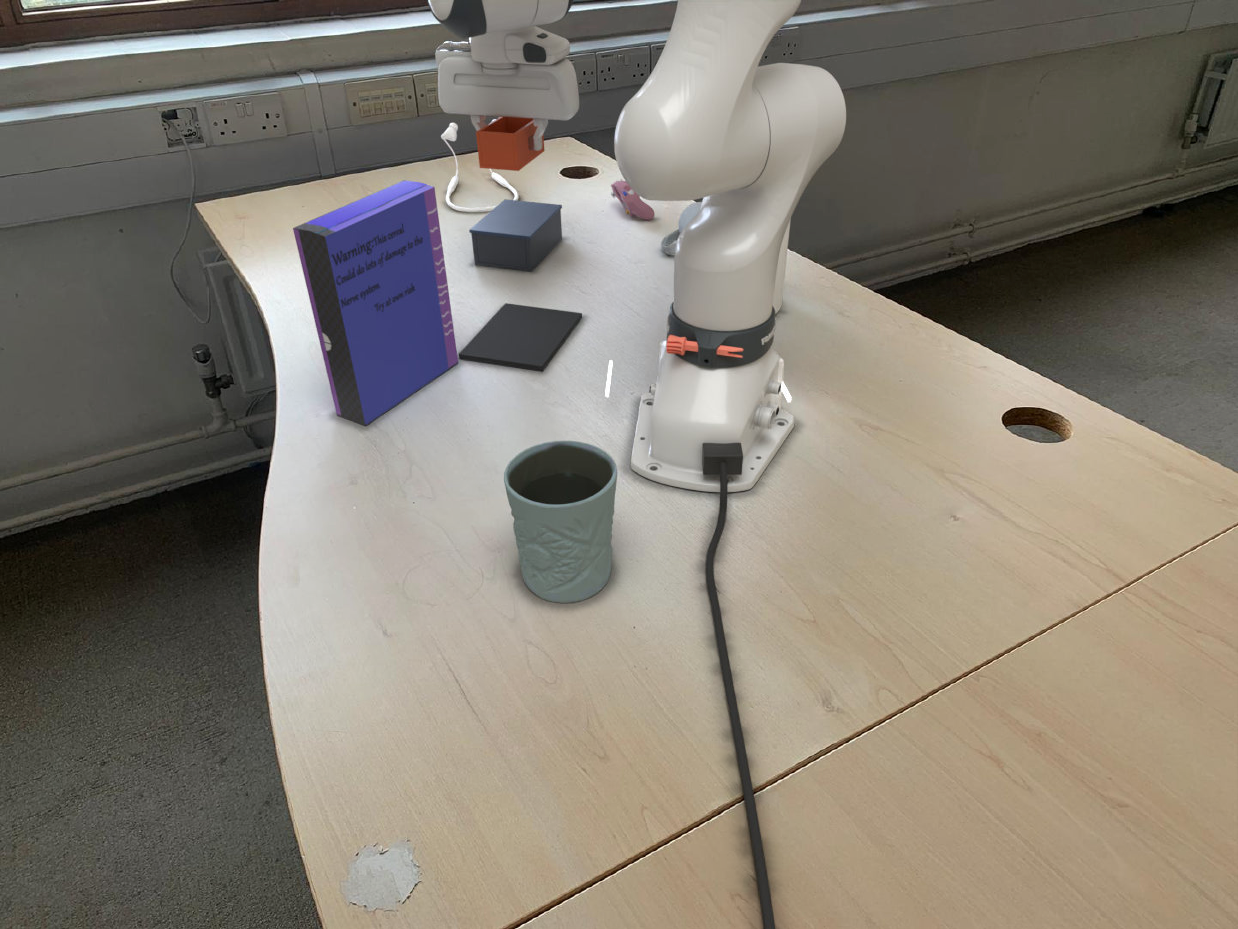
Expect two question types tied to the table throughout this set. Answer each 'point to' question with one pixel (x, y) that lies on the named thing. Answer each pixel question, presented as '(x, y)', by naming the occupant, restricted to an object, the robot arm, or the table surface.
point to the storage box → (517, 235)
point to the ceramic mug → (680, 227)
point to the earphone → (452, 136)
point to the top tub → (506, 143)
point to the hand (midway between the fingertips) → (512, 147)
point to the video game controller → (631, 201)
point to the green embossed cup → (563, 518)
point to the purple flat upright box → (379, 298)
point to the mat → (521, 337)
